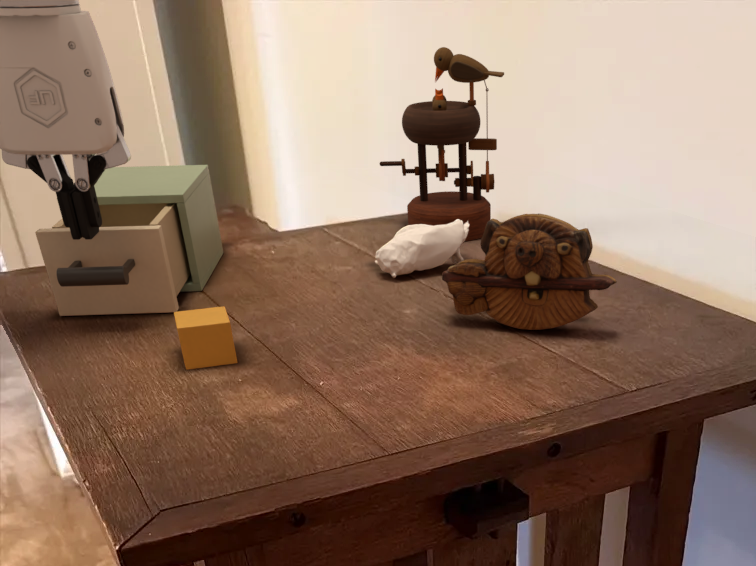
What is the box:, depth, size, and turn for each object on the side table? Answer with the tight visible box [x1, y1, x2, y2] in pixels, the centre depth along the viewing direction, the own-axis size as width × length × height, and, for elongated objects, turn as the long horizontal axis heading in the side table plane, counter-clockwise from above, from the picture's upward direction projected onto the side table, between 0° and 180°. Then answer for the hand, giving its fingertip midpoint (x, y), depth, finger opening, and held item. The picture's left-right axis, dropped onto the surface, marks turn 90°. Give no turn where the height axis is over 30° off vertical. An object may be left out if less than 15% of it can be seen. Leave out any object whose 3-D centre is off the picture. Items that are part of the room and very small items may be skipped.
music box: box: [379, 46, 505, 242], centre depth 110 cm, size 15×11×20 cm
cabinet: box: [56, 164, 224, 293], centre depth 101 cm, size 15×13×10 cm
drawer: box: [34, 203, 191, 317], centre depth 91 cm, size 18×11×8 cm, turn 3°
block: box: [173, 306, 238, 371], centre depth 80 cm, size 4×4×4 cm
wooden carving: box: [441, 213, 618, 331], centre depth 85 cm, size 16×5×10 cm, turn 77°
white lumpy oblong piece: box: [374, 219, 469, 279], centre depth 101 cm, size 5×7×10 cm
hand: (86, 235), depth 84 cm, fingers closed
